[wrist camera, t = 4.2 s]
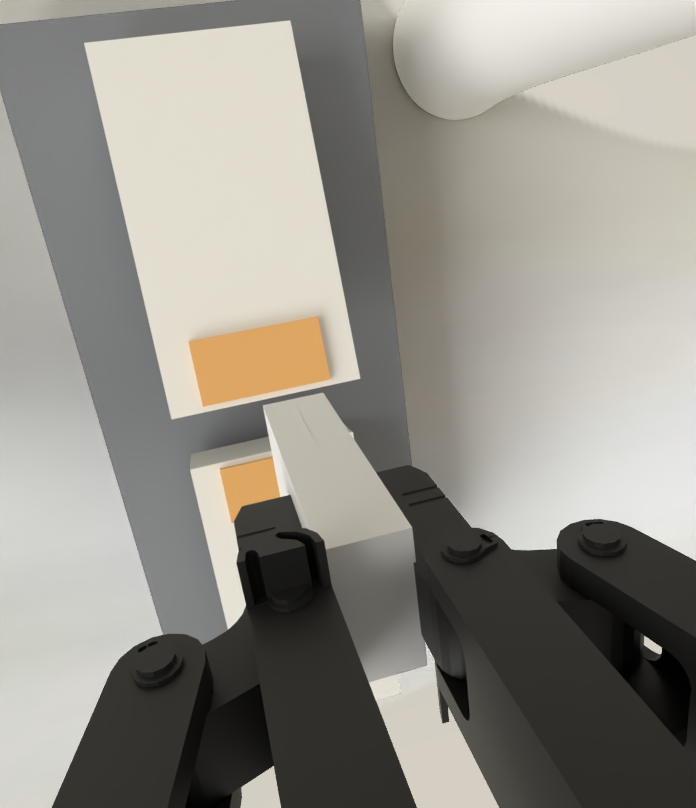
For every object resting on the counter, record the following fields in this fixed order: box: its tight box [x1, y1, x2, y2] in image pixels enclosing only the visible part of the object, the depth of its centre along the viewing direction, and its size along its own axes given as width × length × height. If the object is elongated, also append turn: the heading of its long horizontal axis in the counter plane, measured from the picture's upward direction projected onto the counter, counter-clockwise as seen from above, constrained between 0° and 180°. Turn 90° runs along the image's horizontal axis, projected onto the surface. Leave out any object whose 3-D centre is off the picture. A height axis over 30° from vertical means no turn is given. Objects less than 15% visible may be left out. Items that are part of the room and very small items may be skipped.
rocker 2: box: [190, 427, 401, 701], centre depth 26 cm, size 6×11×3 cm, turn 8°
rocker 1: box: [84, 20, 360, 419], centre depth 21 cm, size 6×11×3 cm, turn 8°
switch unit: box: [0, 0, 412, 645], centre depth 28 cm, size 12×27×7 cm, turn 8°
